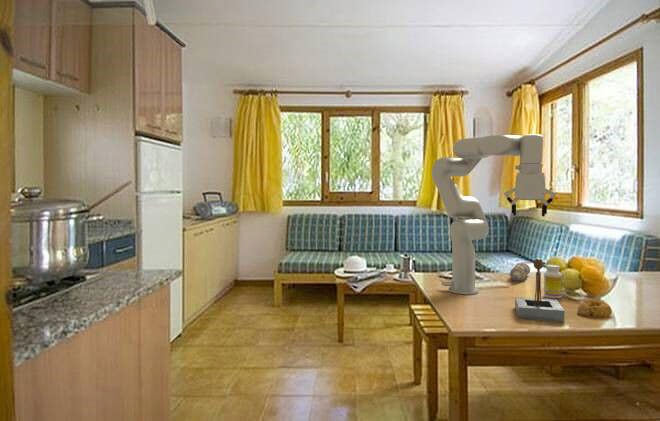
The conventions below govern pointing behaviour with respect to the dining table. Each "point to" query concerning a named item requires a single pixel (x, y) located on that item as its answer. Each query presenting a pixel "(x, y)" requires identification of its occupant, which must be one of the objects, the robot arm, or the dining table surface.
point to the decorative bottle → (519, 272)
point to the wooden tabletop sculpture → (538, 280)
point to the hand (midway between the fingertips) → (528, 215)
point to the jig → (539, 310)
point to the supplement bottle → (553, 282)
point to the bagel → (594, 308)
